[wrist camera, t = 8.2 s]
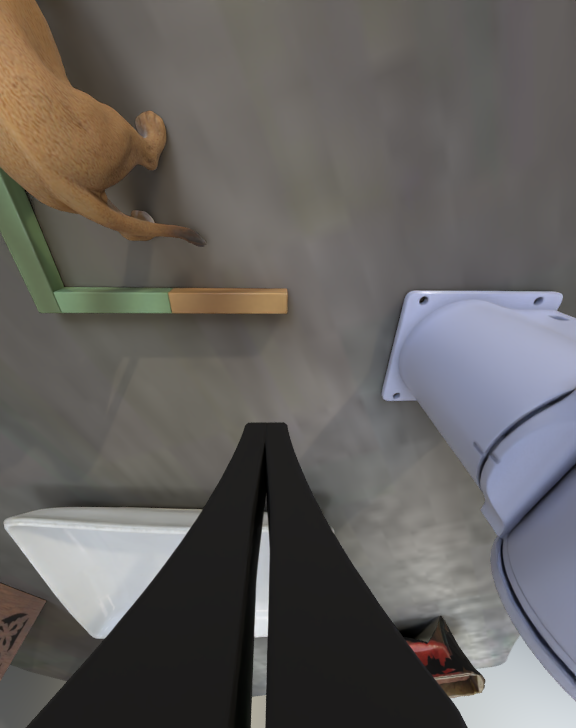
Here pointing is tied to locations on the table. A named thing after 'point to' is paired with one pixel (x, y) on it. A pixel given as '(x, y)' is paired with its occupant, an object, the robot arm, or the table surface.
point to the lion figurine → (69, 132)
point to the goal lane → (32, 256)
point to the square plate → (113, 557)
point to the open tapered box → (448, 663)
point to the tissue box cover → (15, 621)
